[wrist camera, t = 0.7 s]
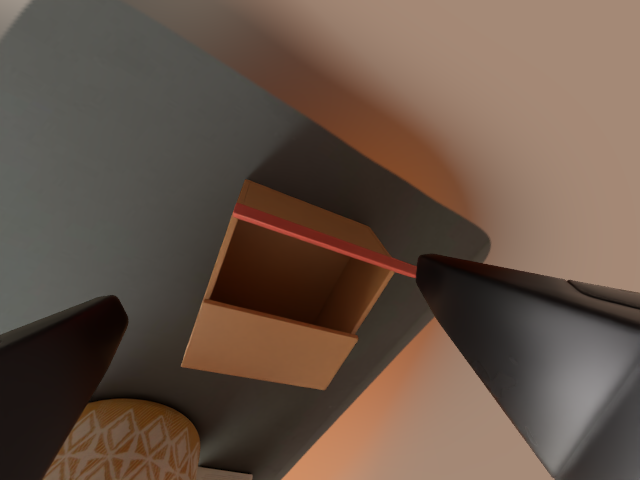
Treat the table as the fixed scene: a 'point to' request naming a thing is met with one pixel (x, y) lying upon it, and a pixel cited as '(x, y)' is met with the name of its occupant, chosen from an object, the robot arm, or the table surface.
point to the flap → (321, 239)
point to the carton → (284, 296)
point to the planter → (128, 444)
